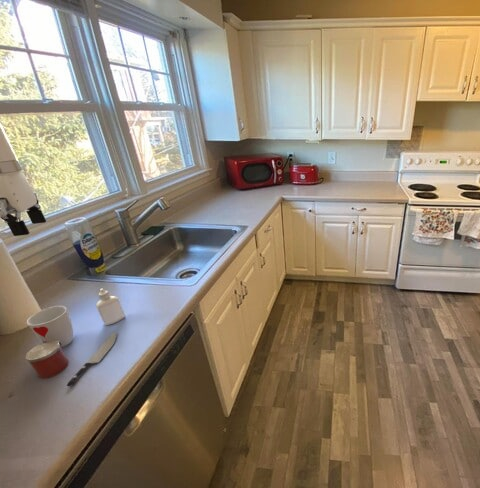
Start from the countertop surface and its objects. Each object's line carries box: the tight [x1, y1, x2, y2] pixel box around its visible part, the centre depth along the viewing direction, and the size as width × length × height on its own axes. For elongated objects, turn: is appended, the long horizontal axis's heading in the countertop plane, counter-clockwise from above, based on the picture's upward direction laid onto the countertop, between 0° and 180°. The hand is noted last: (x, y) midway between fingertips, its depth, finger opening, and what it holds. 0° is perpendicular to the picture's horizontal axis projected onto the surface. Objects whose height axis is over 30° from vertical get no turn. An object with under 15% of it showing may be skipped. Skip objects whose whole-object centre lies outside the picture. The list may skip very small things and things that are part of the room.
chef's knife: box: [66, 331, 117, 387], centre depth 76 cm, size 19×1×3 cm
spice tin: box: [25, 341, 69, 379], centre depth 72 cm, size 6×6×7 cm
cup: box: [26, 305, 74, 348], centre depth 79 cm, size 8×8×10 cm
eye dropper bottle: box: [95, 288, 126, 326], centre depth 87 cm, size 4×6×12 cm
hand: (31, 228), depth 80 cm, fingers open, 9 cm apart
